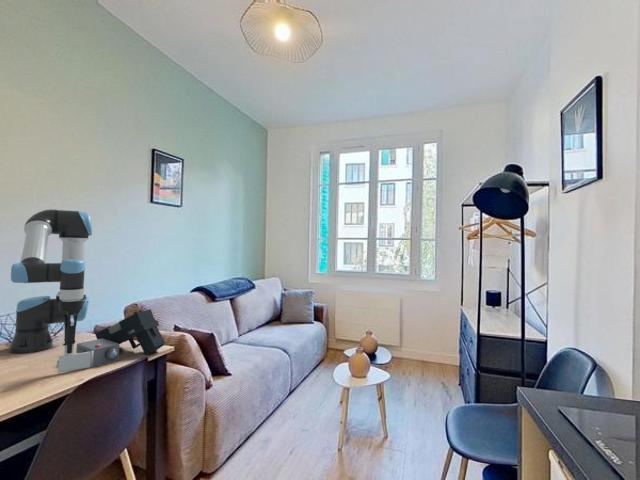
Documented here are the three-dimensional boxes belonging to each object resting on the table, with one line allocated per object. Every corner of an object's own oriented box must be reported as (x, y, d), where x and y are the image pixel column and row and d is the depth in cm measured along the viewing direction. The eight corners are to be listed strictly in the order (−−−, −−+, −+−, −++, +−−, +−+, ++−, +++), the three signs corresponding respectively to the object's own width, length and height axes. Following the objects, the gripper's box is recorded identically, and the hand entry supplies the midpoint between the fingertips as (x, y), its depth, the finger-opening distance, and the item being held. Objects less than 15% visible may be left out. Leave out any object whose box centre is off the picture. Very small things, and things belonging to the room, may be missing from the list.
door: (92, 365, 133) (92, 349, 133) (93, 367, 132) (93, 351, 132) (56, 372, 125) (57, 355, 125) (56, 374, 124) (57, 356, 124)
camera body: (75, 360, 139) (76, 341, 139) (101, 354, 148) (102, 336, 148) (95, 368, 131) (96, 348, 131) (121, 361, 140) (122, 342, 140)
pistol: (154, 350, 146) (138, 309, 148) (107, 372, 151) (92, 331, 153) (168, 344, 156) (153, 305, 158) (124, 365, 160) (109, 327, 162)
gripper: (57, 298, 130) (54, 358, 130) (60, 303, 120) (57, 368, 120) (80, 296, 135) (78, 354, 135) (85, 301, 126) (82, 363, 125)
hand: (68, 361), depth 127 cm, fingers closed
